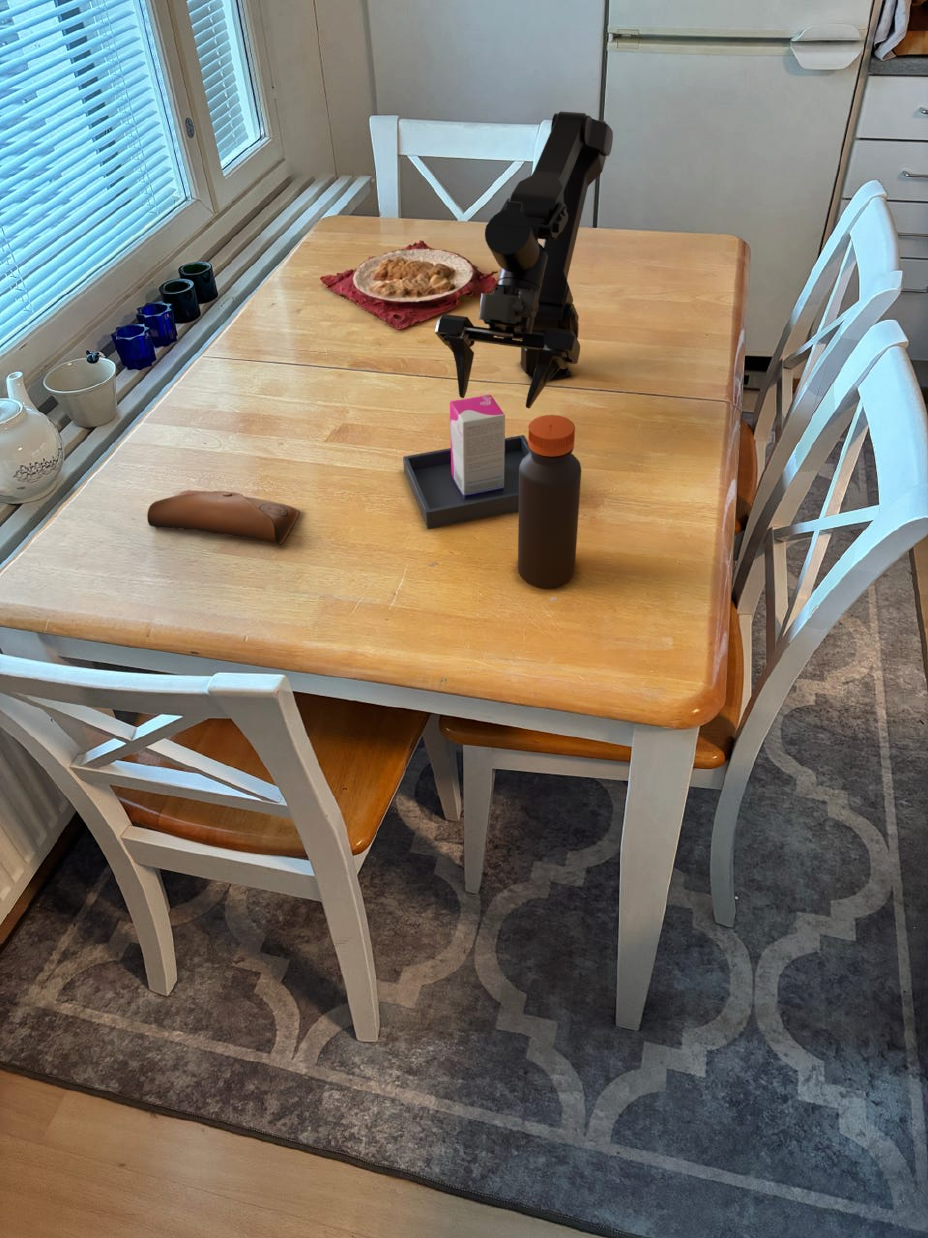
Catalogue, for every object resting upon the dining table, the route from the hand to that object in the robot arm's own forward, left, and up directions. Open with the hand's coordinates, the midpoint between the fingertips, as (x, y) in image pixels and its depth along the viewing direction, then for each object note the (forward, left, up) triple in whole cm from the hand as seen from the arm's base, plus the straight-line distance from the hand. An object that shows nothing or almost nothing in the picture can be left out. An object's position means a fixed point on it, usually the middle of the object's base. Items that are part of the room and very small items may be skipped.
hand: (494, 402), depth 125 cm
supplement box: (+4, +6, -8) cm, 11 cm away
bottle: (+1, +25, -9) cm, 27 cm away
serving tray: (+4, +6, -9) cm, 11 cm away
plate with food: (-2, -58, -9) cm, 59 cm away
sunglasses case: (+37, +3, -9) cm, 38 cm away
